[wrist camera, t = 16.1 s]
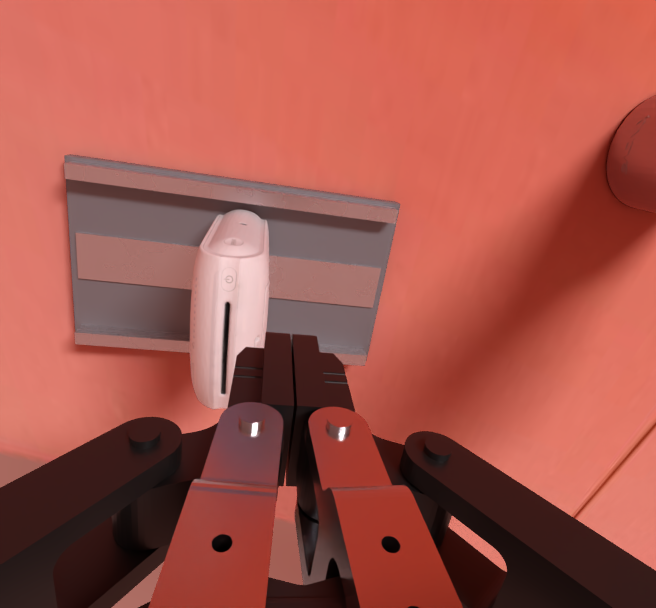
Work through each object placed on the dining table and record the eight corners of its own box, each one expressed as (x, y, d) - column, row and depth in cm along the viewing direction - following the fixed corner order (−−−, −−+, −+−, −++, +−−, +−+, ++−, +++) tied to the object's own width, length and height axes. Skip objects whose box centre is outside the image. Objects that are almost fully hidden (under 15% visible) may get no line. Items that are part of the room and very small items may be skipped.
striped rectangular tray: (393, 207, 34) (398, 210, 32) (361, 357, 39) (364, 366, 37) (72, 161, 30) (63, 163, 28) (82, 335, 35) (75, 344, 33)
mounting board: (396, 202, 35) (400, 204, 34) (364, 355, 40) (366, 361, 39) (70, 154, 30) (64, 155, 30) (80, 333, 36) (75, 338, 35)
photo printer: (213, 203, 32) (182, 249, 20) (272, 210, 32) (274, 258, 21) (208, 330, 36) (181, 428, 24) (261, 333, 36) (258, 430, 25)
